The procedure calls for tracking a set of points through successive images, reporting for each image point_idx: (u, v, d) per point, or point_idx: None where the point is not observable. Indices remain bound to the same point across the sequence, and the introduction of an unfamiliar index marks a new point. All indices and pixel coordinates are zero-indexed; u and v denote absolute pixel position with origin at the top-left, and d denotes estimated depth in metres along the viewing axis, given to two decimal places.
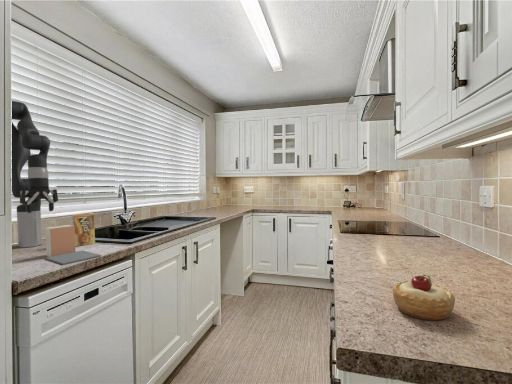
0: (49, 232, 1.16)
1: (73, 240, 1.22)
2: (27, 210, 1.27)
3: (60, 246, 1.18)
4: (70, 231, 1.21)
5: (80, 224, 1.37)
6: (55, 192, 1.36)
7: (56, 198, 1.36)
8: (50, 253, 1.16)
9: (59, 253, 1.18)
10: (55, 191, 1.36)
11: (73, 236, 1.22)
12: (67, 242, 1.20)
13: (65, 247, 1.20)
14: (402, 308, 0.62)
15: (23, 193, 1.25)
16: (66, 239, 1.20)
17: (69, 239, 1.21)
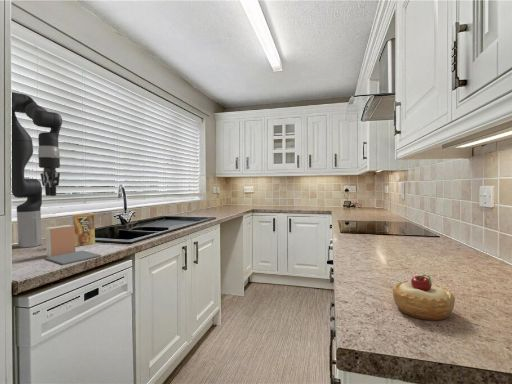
0: (49, 232, 1.16)
1: (73, 240, 1.22)
2: (55, 193, 1.23)
3: (60, 246, 1.18)
4: (70, 231, 1.21)
5: (80, 224, 1.37)
6: None
7: None
8: (50, 253, 1.16)
9: (59, 253, 1.18)
10: None
11: (73, 236, 1.22)
12: (67, 242, 1.20)
13: (65, 247, 1.20)
14: (402, 308, 0.62)
15: None
16: (66, 239, 1.20)
17: (69, 239, 1.21)
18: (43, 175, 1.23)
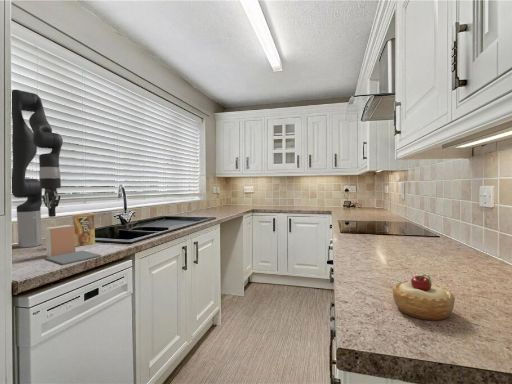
0: (49, 232, 1.16)
1: (73, 240, 1.22)
2: (54, 213, 1.24)
3: (60, 246, 1.18)
4: (70, 231, 1.21)
5: (80, 224, 1.37)
6: None
7: None
8: (50, 253, 1.16)
9: (59, 253, 1.18)
10: None
11: (73, 236, 1.22)
12: (67, 242, 1.20)
13: (65, 247, 1.20)
14: (402, 308, 0.62)
15: None
16: (66, 239, 1.20)
17: (69, 239, 1.21)
18: (44, 196, 1.23)
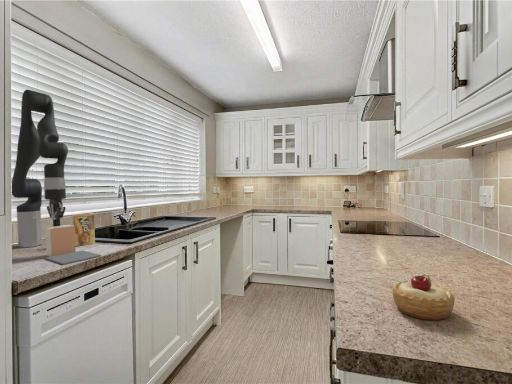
0: (49, 232, 1.16)
1: (73, 240, 1.22)
2: (59, 225, 1.22)
3: (60, 246, 1.18)
4: (70, 231, 1.21)
5: (80, 224, 1.37)
6: None
7: None
8: (50, 253, 1.16)
9: (59, 253, 1.18)
10: None
11: (73, 236, 1.22)
12: (67, 242, 1.20)
13: (65, 247, 1.20)
14: (402, 308, 0.62)
15: None
16: (66, 239, 1.20)
17: (69, 239, 1.21)
18: (49, 207, 1.21)
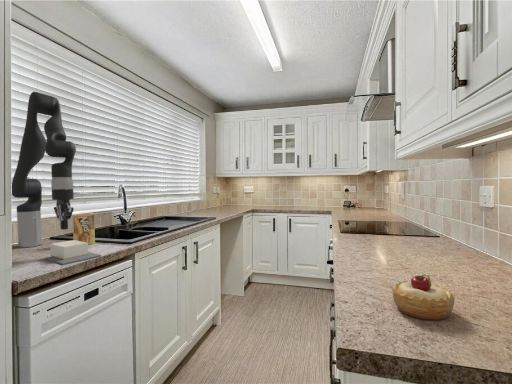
0: (62, 256, 1.10)
1: None
2: (67, 226, 1.18)
3: None
4: None
5: (80, 224, 1.37)
6: None
7: None
8: (52, 253, 1.15)
9: None
10: None
11: None
12: None
13: None
14: (402, 308, 0.62)
15: None
16: None
17: None
18: (56, 207, 1.17)
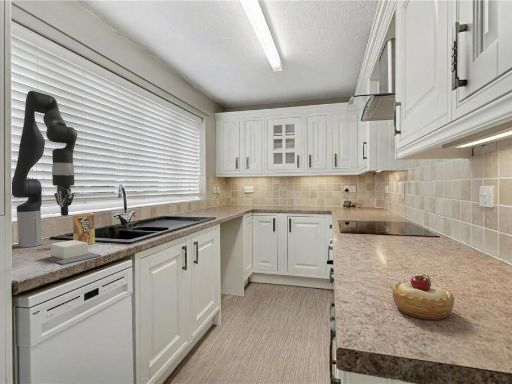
0: (62, 256, 1.10)
1: None
2: (67, 212, 1.17)
3: None
4: None
5: (80, 224, 1.37)
6: None
7: None
8: (52, 253, 1.15)
9: None
10: None
11: None
12: None
13: None
14: (401, 308, 0.62)
15: None
16: None
17: None
18: (57, 193, 1.16)
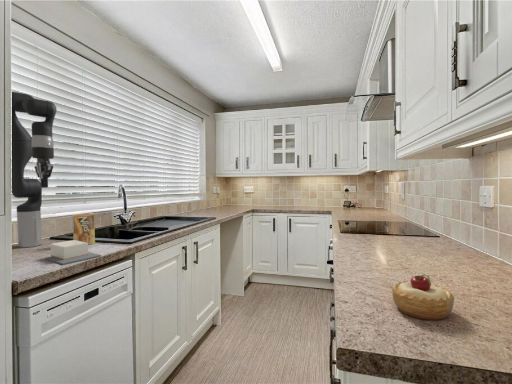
0: (62, 256, 1.10)
1: None
2: (47, 184, 1.20)
3: None
4: None
5: (80, 224, 1.37)
6: None
7: None
8: (52, 253, 1.15)
9: None
10: None
11: None
12: None
13: None
14: (401, 308, 0.62)
15: None
16: None
17: None
18: (37, 166, 1.19)
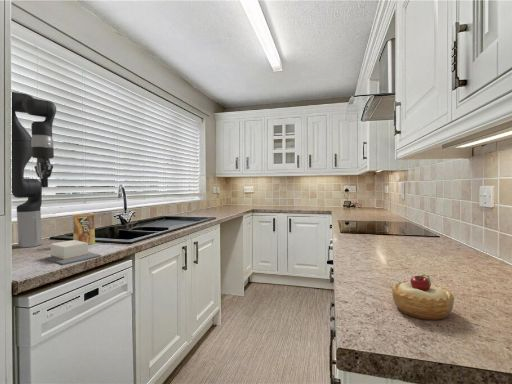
0: (62, 256, 1.10)
1: None
2: (47, 184, 1.20)
3: None
4: None
5: (80, 224, 1.37)
6: None
7: None
8: (52, 253, 1.15)
9: None
10: None
11: None
12: None
13: None
14: (401, 308, 0.62)
15: None
16: None
17: None
18: (37, 165, 1.19)
